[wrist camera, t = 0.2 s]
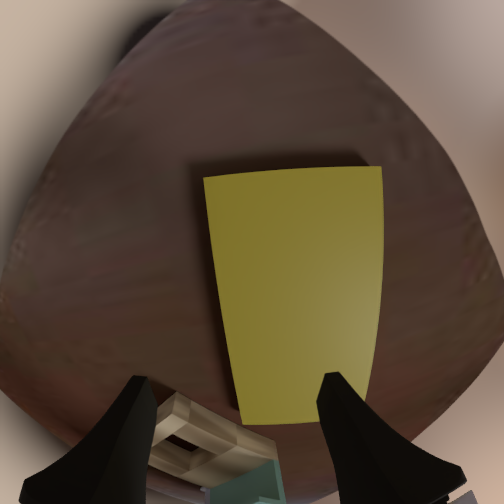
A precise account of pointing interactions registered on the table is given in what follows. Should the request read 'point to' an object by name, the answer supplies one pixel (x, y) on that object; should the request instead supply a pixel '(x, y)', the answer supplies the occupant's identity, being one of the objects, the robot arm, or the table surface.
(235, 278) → the flat olive board
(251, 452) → the socket block
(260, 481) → the teal block
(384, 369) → the table surface
